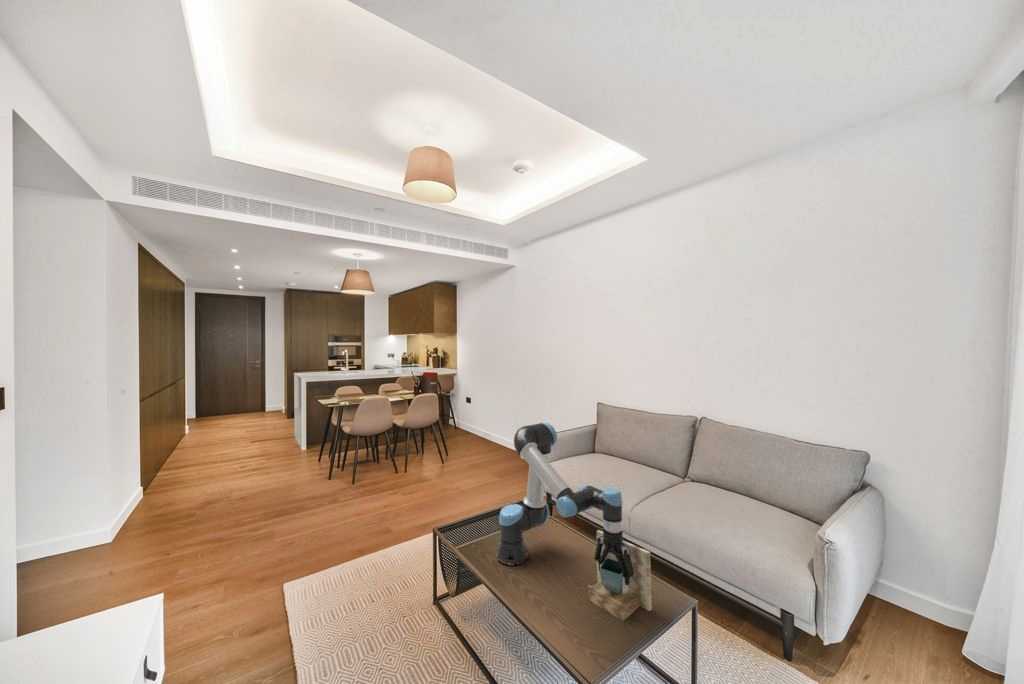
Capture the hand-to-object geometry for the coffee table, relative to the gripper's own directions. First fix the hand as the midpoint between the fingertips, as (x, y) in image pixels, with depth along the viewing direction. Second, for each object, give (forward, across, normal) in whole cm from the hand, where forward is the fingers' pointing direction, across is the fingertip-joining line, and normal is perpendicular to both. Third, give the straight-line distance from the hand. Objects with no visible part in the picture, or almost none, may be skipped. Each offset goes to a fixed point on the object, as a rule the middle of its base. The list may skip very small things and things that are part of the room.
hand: (613, 585), depth 147 cm
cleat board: (+6, 0, 0) cm, 6 cm away
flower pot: (+1, 0, 0) cm, 1 cm away
